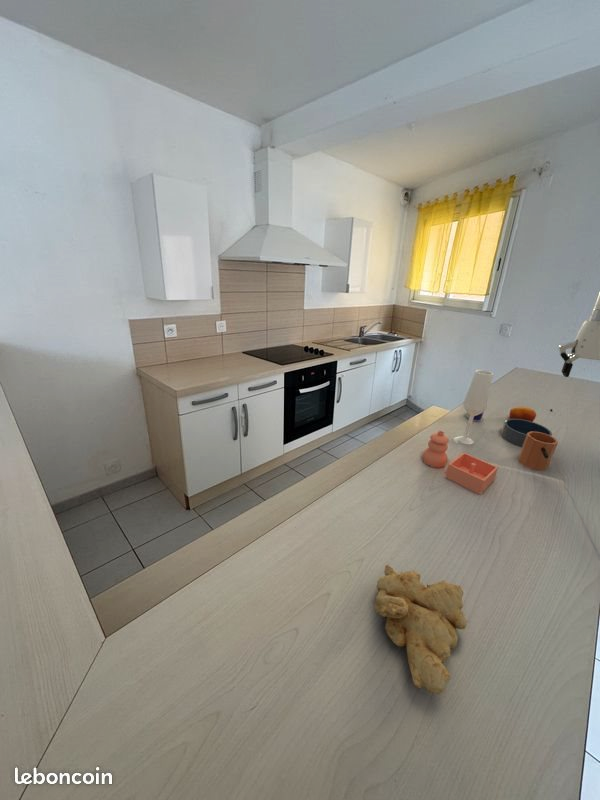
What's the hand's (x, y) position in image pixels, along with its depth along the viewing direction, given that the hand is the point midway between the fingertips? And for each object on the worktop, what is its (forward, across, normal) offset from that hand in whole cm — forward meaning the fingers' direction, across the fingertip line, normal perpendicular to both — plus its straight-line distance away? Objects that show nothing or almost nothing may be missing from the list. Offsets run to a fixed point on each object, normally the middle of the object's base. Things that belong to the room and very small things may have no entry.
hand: (585, 378), depth 92 cm
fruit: (+25, +7, -18) cm, 32 cm away
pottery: (+24, +30, +27) cm, 47 cm away
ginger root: (+24, +36, +76) cm, 87 cm away
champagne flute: (+24, +27, +7) cm, 37 cm away
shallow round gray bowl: (+25, +9, -4) cm, 26 cm away
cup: (+25, +9, +15) cm, 30 cm away
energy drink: (+25, +23, -13) cm, 36 cm away
